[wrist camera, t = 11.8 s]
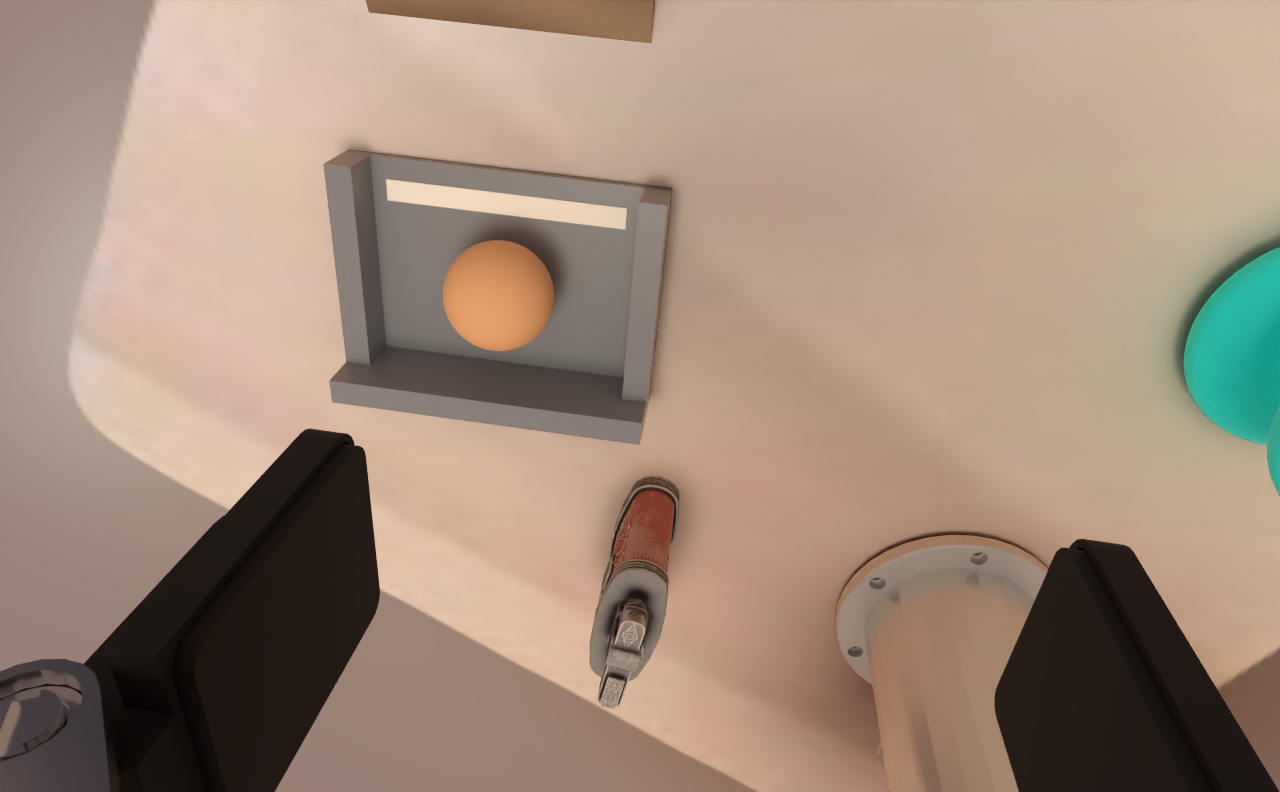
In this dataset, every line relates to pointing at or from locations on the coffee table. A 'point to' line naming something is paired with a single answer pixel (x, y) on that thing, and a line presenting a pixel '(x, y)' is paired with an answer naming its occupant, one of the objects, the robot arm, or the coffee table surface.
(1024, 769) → the robot arm
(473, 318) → the ball
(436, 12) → the ramp
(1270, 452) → the donuts
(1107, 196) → the coffee table surface
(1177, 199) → the coffee table surface
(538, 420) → the box
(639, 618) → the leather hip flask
